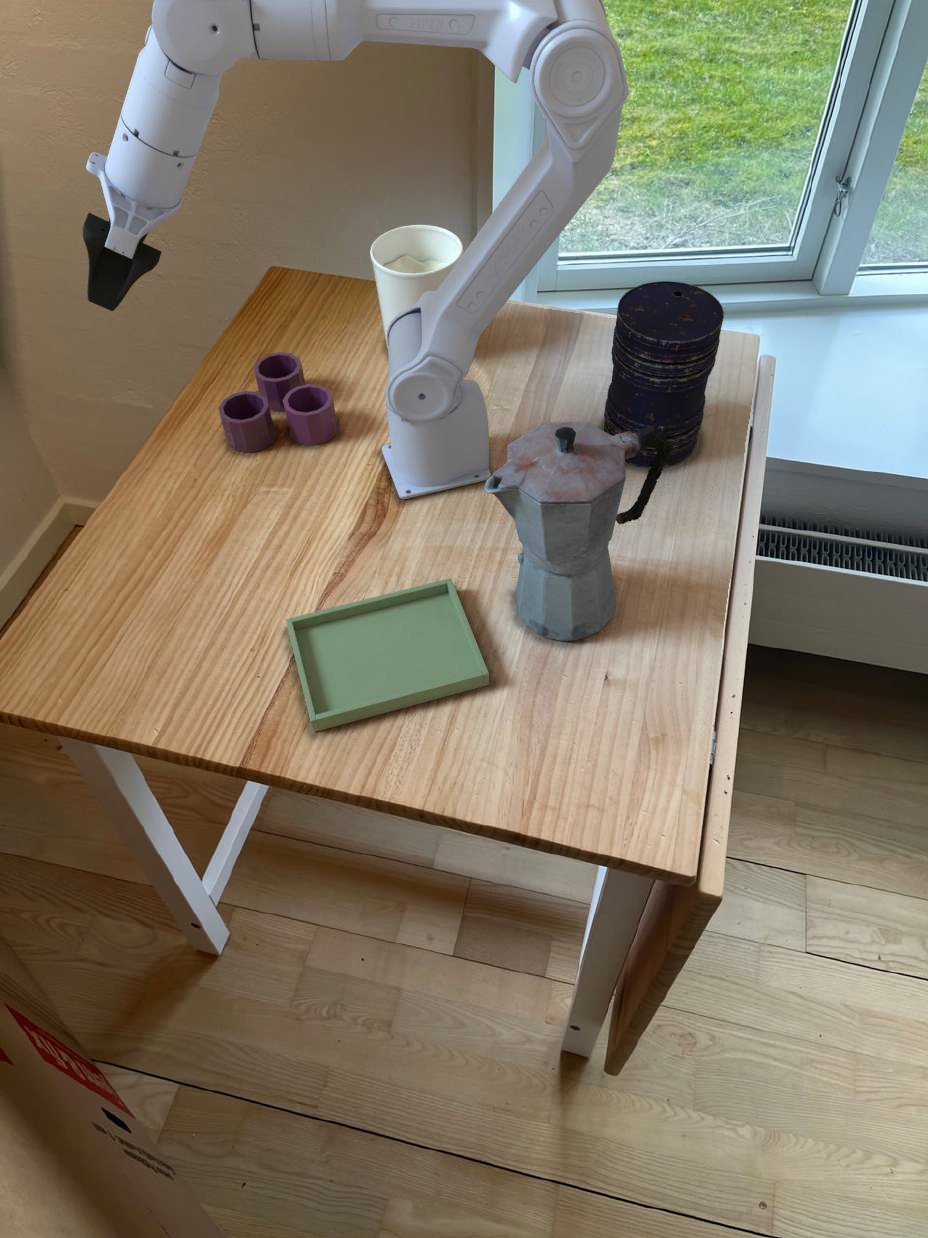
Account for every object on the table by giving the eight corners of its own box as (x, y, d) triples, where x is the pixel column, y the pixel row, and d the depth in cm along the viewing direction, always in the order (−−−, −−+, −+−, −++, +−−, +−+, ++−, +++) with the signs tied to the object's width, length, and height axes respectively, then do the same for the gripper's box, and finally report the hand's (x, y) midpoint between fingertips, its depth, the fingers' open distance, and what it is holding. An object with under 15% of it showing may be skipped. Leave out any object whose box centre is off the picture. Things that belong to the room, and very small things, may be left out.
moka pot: (467, 591, 86) (461, 416, 70) (617, 539, 89) (643, 362, 74) (512, 669, 80) (516, 498, 65) (669, 610, 84) (710, 435, 68)
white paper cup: (384, 320, 112) (374, 224, 103) (467, 320, 112) (464, 223, 103) (377, 371, 106) (365, 274, 97) (464, 371, 106) (461, 273, 97)
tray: (451, 590, 86) (451, 577, 85) (489, 685, 79) (489, 673, 78) (288, 631, 84) (285, 618, 82) (313, 732, 77) (310, 721, 76)
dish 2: (331, 410, 102) (326, 379, 99) (341, 439, 99) (336, 408, 96) (286, 419, 102) (279, 389, 98) (294, 449, 99) (288, 419, 95)
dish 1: (270, 417, 102) (263, 386, 99) (278, 446, 99) (271, 416, 96) (224, 427, 101) (215, 396, 98) (231, 457, 98) (222, 426, 95)
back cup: (302, 378, 106) (296, 348, 103) (310, 405, 103) (305, 375, 100) (257, 387, 105) (250, 357, 102) (265, 415, 102) (258, 385, 99)
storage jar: (684, 479, 94) (711, 352, 83) (589, 456, 97) (603, 329, 85) (707, 418, 100) (735, 291, 88) (617, 397, 102) (632, 272, 91)
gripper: (124, 60, 72) (79, 209, 81) (83, 149, 63) (38, 306, 72) (213, 109, 75) (161, 247, 84) (187, 200, 66) (131, 344, 75)
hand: (110, 277), depth 78 cm, fingers open, 7 cm apart
